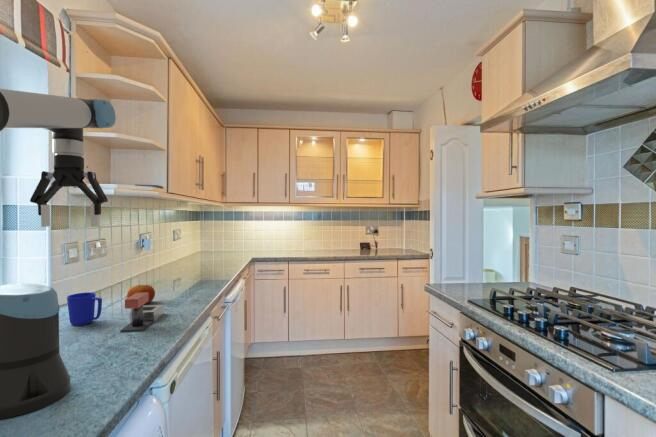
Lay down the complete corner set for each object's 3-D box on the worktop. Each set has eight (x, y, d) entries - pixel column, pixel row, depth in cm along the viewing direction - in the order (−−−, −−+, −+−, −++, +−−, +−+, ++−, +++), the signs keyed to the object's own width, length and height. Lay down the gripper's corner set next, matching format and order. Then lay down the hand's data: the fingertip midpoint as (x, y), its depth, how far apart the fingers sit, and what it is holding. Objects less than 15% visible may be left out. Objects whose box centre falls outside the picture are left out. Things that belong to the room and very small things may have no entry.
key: (148, 320, 122) (148, 292, 122) (138, 329, 113) (137, 299, 113) (136, 321, 122) (136, 292, 122) (125, 330, 113) (124, 299, 113)
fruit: (126, 303, 149) (126, 285, 148) (153, 300, 154) (153, 282, 154) (128, 309, 140) (127, 289, 140) (156, 305, 145) (156, 286, 145)
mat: (143, 330, 114) (143, 329, 114) (120, 332, 113) (120, 330, 113) (153, 322, 123) (153, 320, 122) (132, 323, 122) (132, 321, 122)
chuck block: (153, 321, 123) (153, 312, 123) (129, 323, 122) (129, 313, 122) (163, 313, 133) (163, 304, 133) (141, 314, 132) (141, 305, 132)
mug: (91, 328, 117) (90, 298, 117) (61, 326, 119) (60, 297, 119) (111, 320, 125) (110, 293, 125) (82, 319, 127) (82, 291, 127)
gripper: (118, 158, 110) (120, 225, 110) (31, 157, 107) (33, 226, 107) (106, 154, 103) (108, 225, 103) (13, 153, 99) (15, 227, 100)
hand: (70, 226), depth 105 cm, fingers open, 13 cm apart
